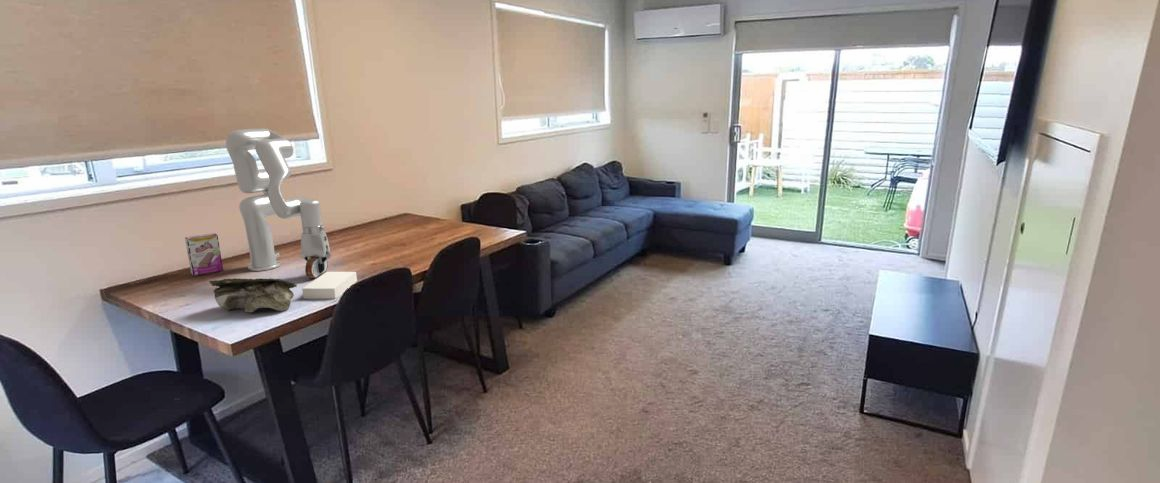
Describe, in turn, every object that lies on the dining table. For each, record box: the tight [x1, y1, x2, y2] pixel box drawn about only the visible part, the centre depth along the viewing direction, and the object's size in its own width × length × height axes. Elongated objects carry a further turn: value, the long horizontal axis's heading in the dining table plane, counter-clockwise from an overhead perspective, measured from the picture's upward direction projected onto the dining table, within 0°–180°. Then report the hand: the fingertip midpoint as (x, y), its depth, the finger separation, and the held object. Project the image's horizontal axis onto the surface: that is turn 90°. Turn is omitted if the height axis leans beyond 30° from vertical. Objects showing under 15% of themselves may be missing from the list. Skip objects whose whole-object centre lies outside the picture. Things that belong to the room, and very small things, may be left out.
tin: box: [304, 255, 329, 279], centre depth 231 cm, size 15×3×8 cm, turn 179°
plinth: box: [302, 271, 358, 300], centre depth 215 cm, size 20×12×4 cm, turn 179°
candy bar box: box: [184, 232, 224, 277], centre depth 234 cm, size 11×5×16 cm, turn 135°
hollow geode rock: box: [209, 277, 298, 313], centre depth 193 cm, size 28×13×15 cm
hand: (317, 271), depth 232 cm, fingers closed on tin, 2 cm apart
